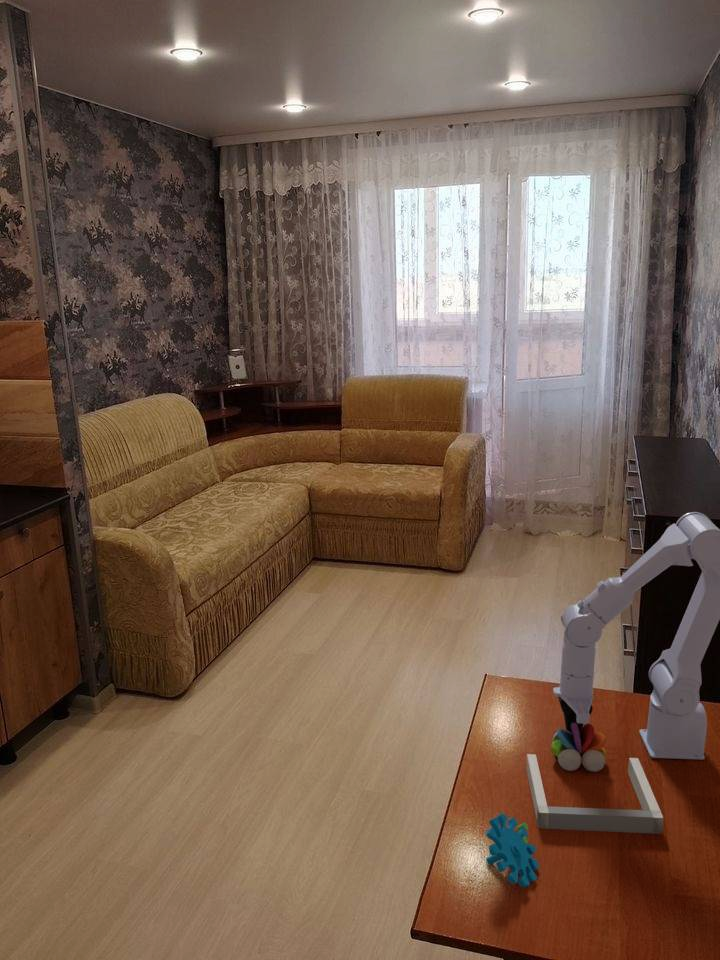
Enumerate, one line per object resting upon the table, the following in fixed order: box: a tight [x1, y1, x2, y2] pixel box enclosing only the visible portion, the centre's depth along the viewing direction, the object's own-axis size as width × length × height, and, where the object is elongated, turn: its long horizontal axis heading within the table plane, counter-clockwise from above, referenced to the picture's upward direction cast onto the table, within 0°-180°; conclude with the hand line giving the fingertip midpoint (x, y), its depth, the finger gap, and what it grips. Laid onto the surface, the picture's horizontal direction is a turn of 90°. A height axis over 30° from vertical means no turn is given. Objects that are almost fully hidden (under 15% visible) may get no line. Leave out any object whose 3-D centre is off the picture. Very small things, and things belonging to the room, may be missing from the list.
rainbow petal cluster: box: [550, 723, 608, 773], centre depth 133 cm, size 8×10×7 cm
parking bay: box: [525, 753, 664, 835], centre depth 124 cm, size 19×14×3 cm
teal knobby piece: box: [485, 813, 540, 888], centre depth 111 cm, size 11×6×10 cm
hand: (572, 734), depth 139 cm, fingers closed
